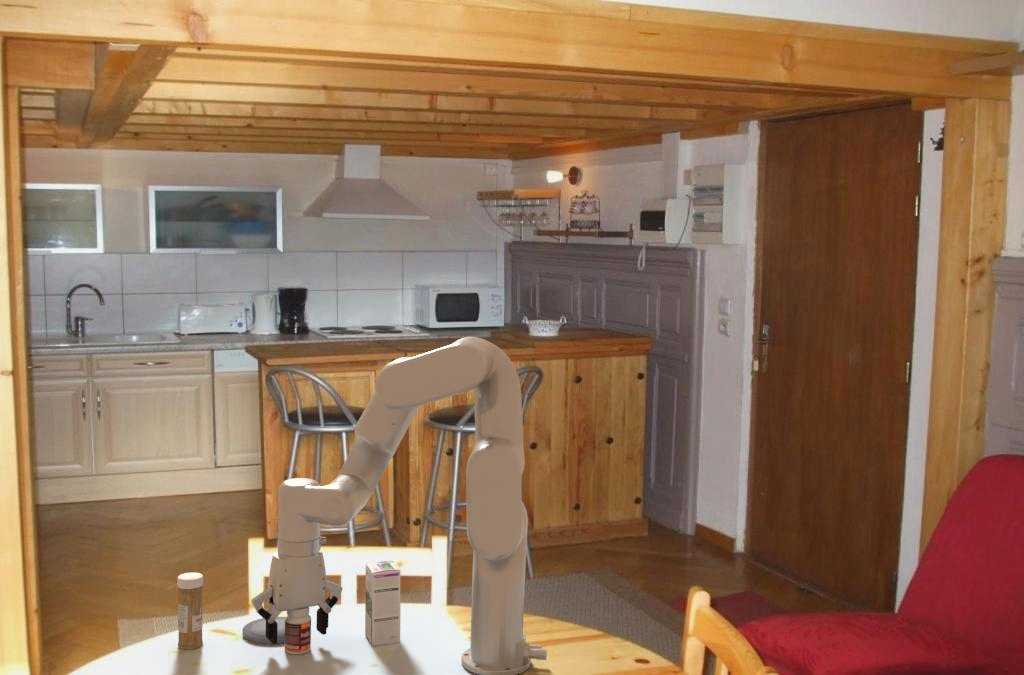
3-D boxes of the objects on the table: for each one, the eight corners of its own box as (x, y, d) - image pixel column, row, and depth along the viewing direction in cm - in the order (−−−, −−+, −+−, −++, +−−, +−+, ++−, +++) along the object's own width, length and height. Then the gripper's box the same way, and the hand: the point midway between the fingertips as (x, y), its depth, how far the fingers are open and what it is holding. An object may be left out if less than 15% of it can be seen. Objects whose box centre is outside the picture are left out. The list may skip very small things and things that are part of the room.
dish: (314, 624, 204) (314, 618, 204) (294, 647, 192) (294, 641, 192) (256, 619, 206) (256, 614, 206) (232, 642, 194) (232, 636, 194)
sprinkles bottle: (204, 648, 191) (205, 577, 189) (179, 652, 189) (179, 580, 187) (200, 639, 195) (200, 570, 194) (175, 643, 193) (175, 573, 192)
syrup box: (401, 643, 196) (402, 568, 195) (370, 646, 194) (372, 571, 193) (393, 632, 201) (394, 559, 200) (363, 635, 199) (364, 562, 198)
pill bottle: (304, 656, 189) (305, 611, 188) (280, 653, 190) (280, 609, 189) (314, 646, 193) (315, 603, 192) (290, 643, 194) (291, 600, 193)
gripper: (334, 535, 197) (332, 622, 199) (245, 547, 188) (244, 638, 190) (350, 545, 191) (348, 635, 193) (259, 558, 182) (258, 652, 183)
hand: (297, 636), depth 191 cm, fingers open, 9 cm apart
